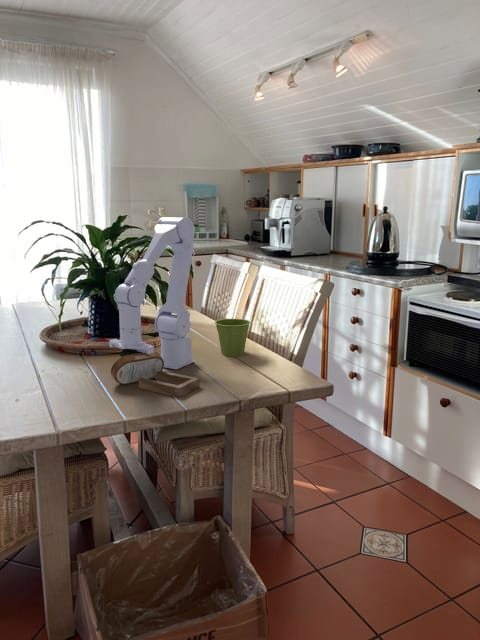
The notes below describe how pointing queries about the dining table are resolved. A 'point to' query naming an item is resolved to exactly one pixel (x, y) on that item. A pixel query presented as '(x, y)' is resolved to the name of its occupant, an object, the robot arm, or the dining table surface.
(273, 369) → the dining table surface
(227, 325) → the plant pot
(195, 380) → the dock
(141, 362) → the tin
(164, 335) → the robot arm
